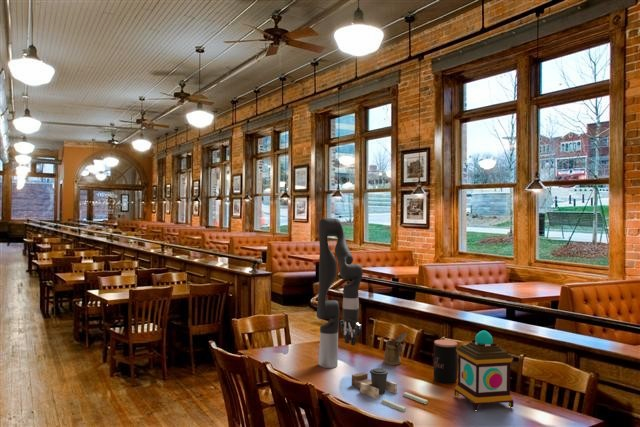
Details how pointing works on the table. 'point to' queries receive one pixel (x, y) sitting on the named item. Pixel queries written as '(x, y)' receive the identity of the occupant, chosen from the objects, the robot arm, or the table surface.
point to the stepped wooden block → (375, 391)
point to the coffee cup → (379, 379)
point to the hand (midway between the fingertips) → (350, 343)
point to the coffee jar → (445, 361)
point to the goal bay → (402, 406)
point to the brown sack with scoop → (394, 350)
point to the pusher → (360, 379)
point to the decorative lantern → (484, 372)
